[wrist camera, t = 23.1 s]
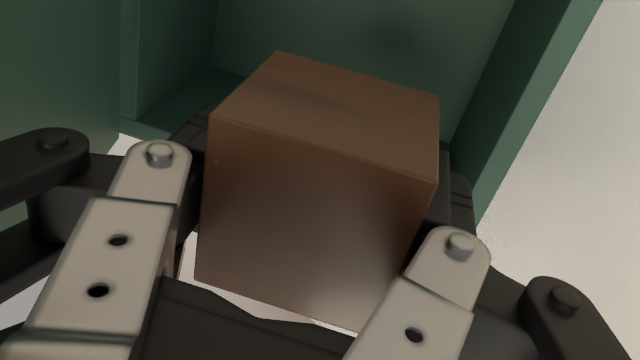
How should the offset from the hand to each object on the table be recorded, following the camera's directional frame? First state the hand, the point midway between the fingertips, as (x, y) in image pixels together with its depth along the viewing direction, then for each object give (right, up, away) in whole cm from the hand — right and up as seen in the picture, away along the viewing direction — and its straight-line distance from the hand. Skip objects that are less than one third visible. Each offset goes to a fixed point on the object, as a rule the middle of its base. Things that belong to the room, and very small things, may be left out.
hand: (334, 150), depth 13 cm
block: (0, 0, 0) cm, 0 cm away
